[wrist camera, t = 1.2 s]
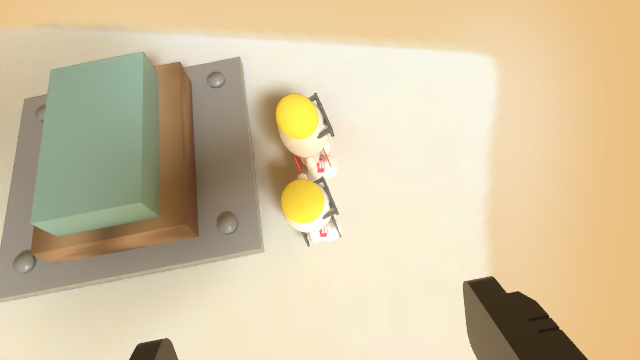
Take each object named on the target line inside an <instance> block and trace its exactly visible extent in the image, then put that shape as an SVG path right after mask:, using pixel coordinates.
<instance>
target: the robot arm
mask: <svg viewBox="0 0 640 360" xmlns="http://www.w3.org/2000/svg"><path fill="white" fill-rule="evenodd" d="M463 295H464V305H465V315H466V326H467V333H468V337H469V341H470V344H471V347H472V349H473V352H474V354H475V356H476V357H477V359H478V360H588V359H587V358H586V357H585V356H584V355H583V354H582V352H581V351H580V350H579V349H578V348H577V347H576V346H575V344H574V343H573V342H572V341H571V340H570V339H569V338H568V337H567V336H566V334H565V333H564V332H563V331H562V330H560V329H559V326H558V325H557V324H556V323H555V322H554V321H553V320H552V318H549V315H548V314H547V313H546V312H545V311H544V309H543V308H542V307H541V306H540V305H539V304H538V303H537V302H536V301H535V300H533V299H531V298H529V297H527V296H526V295H524V294H522V293H520V292H519V291H517V292H512V293H506V292H505V290H504V289H503V288H502V287H501V285H500V284H499V283H498V282H497V280H496V279H495V278H494V277H492V276H490V277H485V278H480V279H474V280H469V281H464V283H463ZM129 360H178V358H177V355H176V352H175V350H174V347H173V345H172V342H171V341H170V340H169V339H168V338H165V339H160V340H155V341H150V342H145V343H140V344H138V345H137V346H136V348H135V350H134V352H133V354H132V355H131V357H130V359H129Z"/></svg>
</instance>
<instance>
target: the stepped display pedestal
mask: <svg viewBox="0 0 640 360" xmlns="http://www.w3.org/2000/svg"><path fill="white" fill-rule="evenodd" d="M261 252H264V247H263V238H262V229H261V221H260V212H259V203H258V195H257V186H256V177H255V169H254V160H253V151H252V143H251V134H250V125H249V117H248V108H247V99H246V91H245V82H244V73H243V65H242V61H241V59H240V57H237V58H232V59H227V60H222V61H217V62H212V63H207V64H201V65H196V66H191V67H186V68H183V67H182V65H181V63H180V62H176V63H171V64H166V65H161V66H156V67H153V66H152V64H151V63H150V61H149V60H148V58H147V57H146V55H145V54H144V52H139V53H134V54H129V55H124V56H118V57H113V58H108V59H103V60H98V61H93V62H88V63H83V64H78V65H73V66H68V67H63V68H57V69H52V70H51V71H50V79H49V86H48V94H47V95H43V96H38V97H33V98H28V99H24V105H23V112H22V118H21V124H20V130H19V136H18V143H17V149H16V155H15V161H14V167H13V174H12V180H11V186H10V192H9V199H8V205H7V211H6V217H5V223H4V230H3V236H2V242H1V248H0V302H5V301H10V300H16V299H21V298H26V297H31V296H37V295H42V294H47V293H52V292H57V291H63V290H68V289H73V288H78V287H84V286H89V285H94V284H99V283H104V282H110V281H115V280H120V279H125V278H130V277H136V276H141V275H146V274H151V273H157V272H162V271H167V270H172V269H177V268H183V267H188V266H193V265H198V264H204V263H209V262H214V261H219V260H224V259H230V258H235V257H240V256H245V255H251V254H256V253H261Z"/></svg>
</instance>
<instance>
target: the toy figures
mask: <svg viewBox="0 0 640 360" xmlns="http://www.w3.org/2000/svg"><path fill="white" fill-rule="evenodd" d="M314 100H316V101H317V105H315V104H314V103H313V101H314ZM275 117H276V122H277V125H278V131H279V135H280V138H281V140H282V142H283V144H284V145H285V146H286V148H287V149H288V150H289V151H290V152H292V154H293V157H294V159H295V162H296V164H297V166H298V168H299V171H300V173H301V174H300V175H298V178H297V180H295V181H293V182H291V183H289V184H288V185H287V186H286V187H285V189H284V190H283V192H282V196H281V206H282V210H283V214H284V217H285V219H286V221H287V222H288V223H289V225H290V226H292V227H293V228H294V229H296V230H298V231H301V233H302V235H303V237H304V239H305V241H306V243H307V246H308V247H309V241H308V239H307V233H306V232H308V233H309V237H310V240H311V241H312V242H313V243H317V242H319V241H323V240H325V241H333V240H335V239H337V238H338V237H339V236H340V237H341V235H340V233H341V226H340V224H339V223H338V222H337V221H335V219H334V216H333V215H334V214H336V215H338V214H339V213H338V210H337V208H336V206H335V203H334V201H333V199H332V196H331V194H330V191H329V188H328V186H327V184H326V182H325V179H324V178H331V177H333V176H334V175H335V174H336V172H337V168H338V167H337V163H336V161H335V160H334V158H332V157H331V156H328V155H327V153H328V151H329V149H330V142H329V140H328V138H327V136H328V133H330V134H331V136H332V137H333V136H334V133H333V129H332V127H331V124H330V122H329V120H328V118H327V116H326V113H325V111H324V109H323V107H322V104H321V102H320V100H319V98H318V96H317V93H314V95H313V96H311V97H310V98H307V97H305V96H303V95H300V94H289V95H287V96H285V97H283V98H282V99H281V100H280V101H279V103H278V105H277V107H276V112H275ZM296 155H297V156H299V158H300V160H301V162H302V163H303V164H304V165H306V166H307V170H308V172H309V174H310V175H312V176H313V177H317V178H320V177H321V178H320V179H318V180H316V181H314V182H311V181H310V180H309V179H308V177H307V175H306V174H303V173H302V170H301V166H300V164H299V161H298V159H297V156H296ZM324 155H325V156H324ZM320 156H322V157H320ZM319 157H320V158H319ZM322 181H323V184H324V186H325V187H323V186H321V185H320V184H319V183H320V182H322ZM331 217H332V219H330V218H331Z"/></svg>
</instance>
